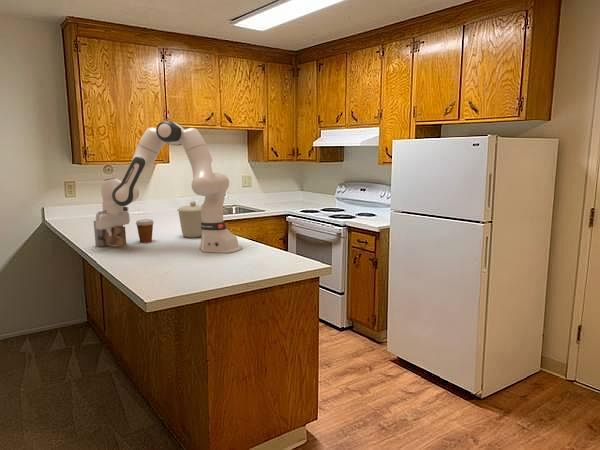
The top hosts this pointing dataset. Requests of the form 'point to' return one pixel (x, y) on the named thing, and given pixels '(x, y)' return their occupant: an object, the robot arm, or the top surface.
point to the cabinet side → (99, 236)
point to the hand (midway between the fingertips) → (114, 235)
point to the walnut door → (115, 236)
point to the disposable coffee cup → (145, 230)
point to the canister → (190, 220)
